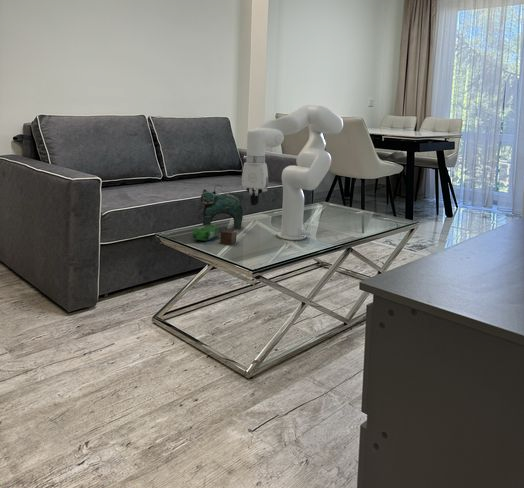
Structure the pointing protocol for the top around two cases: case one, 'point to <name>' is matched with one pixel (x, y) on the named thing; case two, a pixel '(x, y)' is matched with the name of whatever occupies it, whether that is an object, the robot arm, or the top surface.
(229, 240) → the walnut block
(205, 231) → the snack package
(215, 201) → the ceramic cat
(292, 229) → the robot arm
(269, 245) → the top surface
